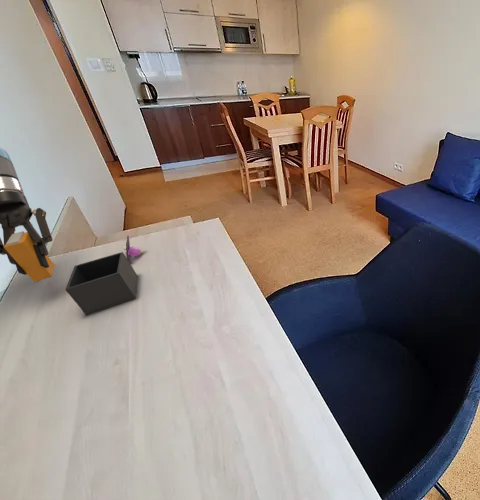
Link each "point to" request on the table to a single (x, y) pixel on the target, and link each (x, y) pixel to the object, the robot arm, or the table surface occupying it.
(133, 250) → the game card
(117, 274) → the bin
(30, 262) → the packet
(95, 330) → the table surface
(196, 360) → the table surface
